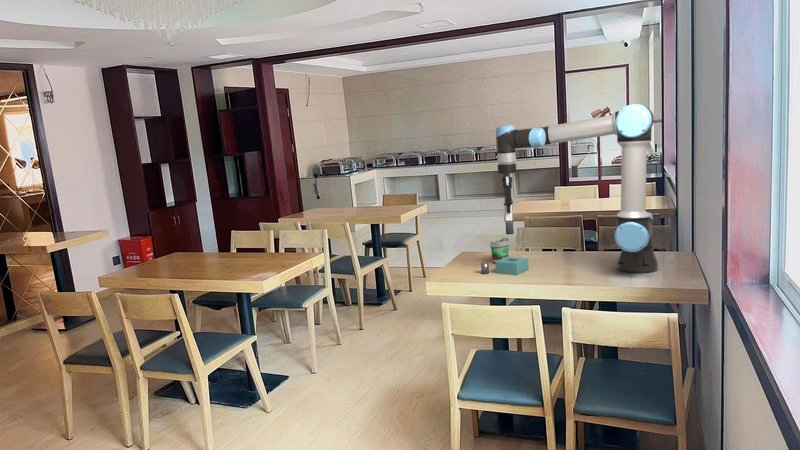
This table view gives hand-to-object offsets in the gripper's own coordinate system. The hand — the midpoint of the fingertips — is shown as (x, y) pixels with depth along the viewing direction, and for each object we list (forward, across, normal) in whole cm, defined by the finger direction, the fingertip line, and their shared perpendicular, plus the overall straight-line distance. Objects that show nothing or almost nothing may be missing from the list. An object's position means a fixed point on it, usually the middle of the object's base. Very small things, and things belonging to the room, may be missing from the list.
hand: (509, 219), depth 233 cm
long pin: (+6, 0, 0) cm, 6 cm away
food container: (+23, -19, -4) cm, 30 cm away
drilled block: (+22, 0, 0) cm, 22 cm away
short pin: (+22, +2, -11) cm, 25 cm away
